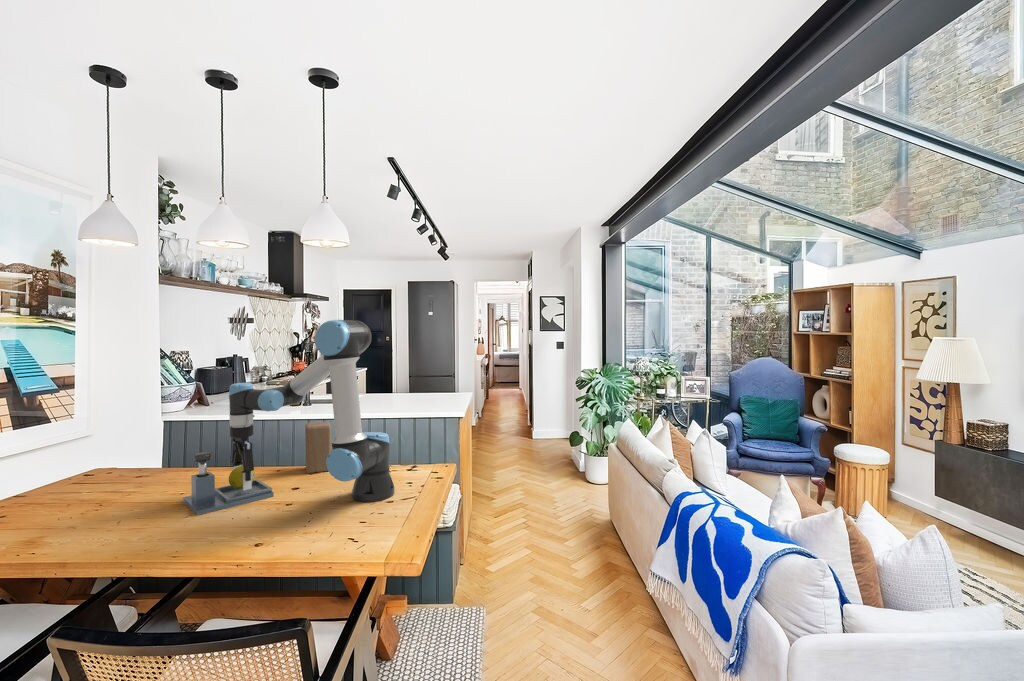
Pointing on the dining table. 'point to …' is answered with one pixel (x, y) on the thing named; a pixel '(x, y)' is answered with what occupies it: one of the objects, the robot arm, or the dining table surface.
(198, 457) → the ball
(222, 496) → the base
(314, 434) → the wooden block
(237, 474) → the lemon
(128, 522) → the dining table surface
